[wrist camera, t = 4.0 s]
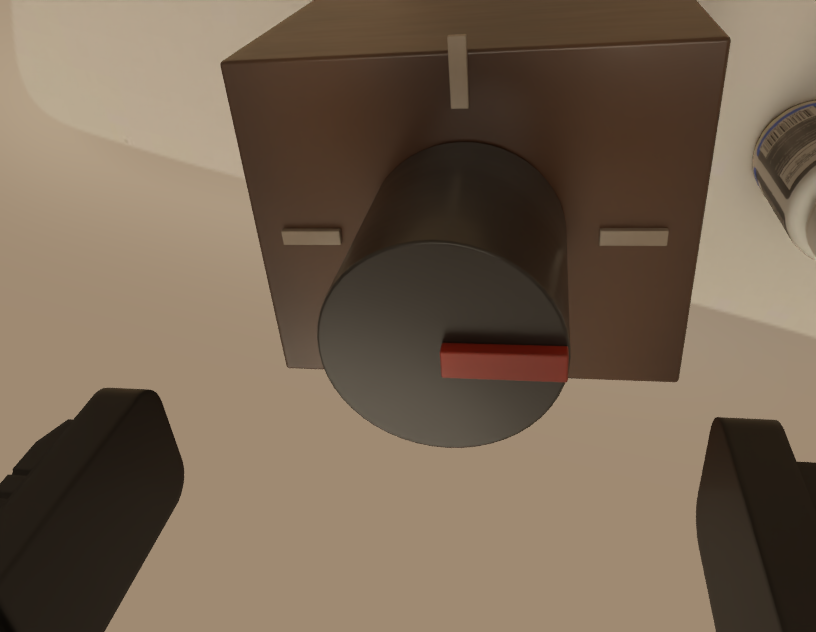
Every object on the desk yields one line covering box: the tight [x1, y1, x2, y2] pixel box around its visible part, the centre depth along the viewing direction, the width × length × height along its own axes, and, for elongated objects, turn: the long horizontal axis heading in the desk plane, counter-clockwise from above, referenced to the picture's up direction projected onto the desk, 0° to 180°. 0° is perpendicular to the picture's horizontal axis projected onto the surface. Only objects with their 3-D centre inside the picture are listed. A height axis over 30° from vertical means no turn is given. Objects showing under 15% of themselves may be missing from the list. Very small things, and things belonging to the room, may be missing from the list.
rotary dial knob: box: [317, 142, 571, 448], centre depth 14 cm, size 4×4×5 cm
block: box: [221, 0, 731, 382], centre depth 23 cm, size 10×9×18 cm
